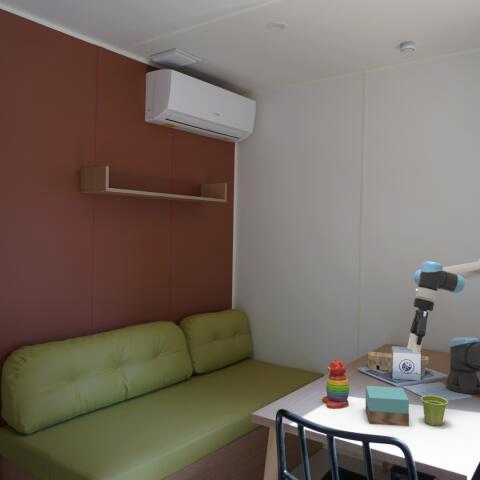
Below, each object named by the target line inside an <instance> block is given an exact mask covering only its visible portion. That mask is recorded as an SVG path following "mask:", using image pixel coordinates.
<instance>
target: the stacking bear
mask: <svg viewBox="0 0 480 480" xmlns="http://www.w3.org/2000/svg"><path fill="white" fill-rule="evenodd" d="M346 369H347V367H346V364H345V363H344V362H343V361H342V360H338V359H334V360H333V361H331V363H330V364H329V366H327V372H328V373H329V375H328V377H327V380H326V384H325V391H326V395H325V396H323V397H322V399H321V400H322V402H323V403H325V404H326V408H327V409H331V410H332V409H335V410H336V409H343V408H347V407H348V406H349V403H350V402H349V400H348V399H349V394H350V384H349V379H348V378H347V376H346V375H345V373H346Z"/></svg>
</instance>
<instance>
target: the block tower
mask: <svg viewBox="0 0 480 480" xmlns="http://www.w3.org/2000/svg"><path fill="white" fill-rule="evenodd" d="M392 354H393V353H390V352H389V353H386V352H377V351H368V354H367V359H368V361H367V362H368V363H367V365H368V367H367V368H369V369H370V370H373V369H380V370H379V371H382V370H389V371H388V372H392V371H391V370H392V358H393V356H392ZM420 356H421V374H422V376H425V375H426V366H428V365H429V356H426V355H420Z"/></svg>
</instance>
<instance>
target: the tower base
mask: <svg viewBox="0 0 480 480" xmlns="http://www.w3.org/2000/svg"><path fill="white" fill-rule="evenodd" d="M365 413H366V416H367V420H368V423H369V425H383V426H397V427H398V426H399V427H409V426H410V413H409V414H407V413H391V412H375V411H369V408H368V405H367V401H366V400H365Z"/></svg>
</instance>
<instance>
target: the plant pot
mask: <svg viewBox="0 0 480 480" xmlns="http://www.w3.org/2000/svg"><path fill="white" fill-rule="evenodd" d="M420 400H421V402H422V406H423V415H424V422H425V423H426V424H428V425H430V426H435V425H438V426H442V425H443V422H444V417H445V411H446V407H447V405H448V404H449V400H447V399H446V398H444V397H441V396H437V395H423V396H421V397H420Z"/></svg>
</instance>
